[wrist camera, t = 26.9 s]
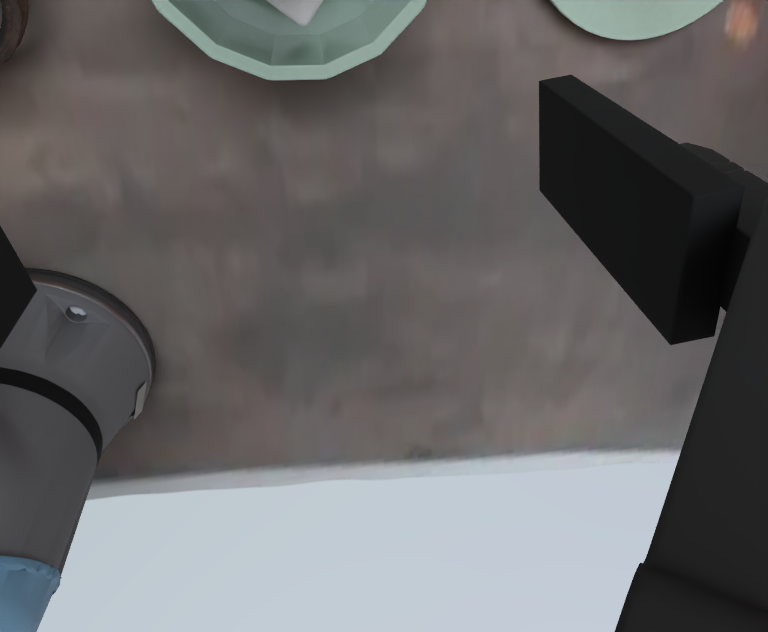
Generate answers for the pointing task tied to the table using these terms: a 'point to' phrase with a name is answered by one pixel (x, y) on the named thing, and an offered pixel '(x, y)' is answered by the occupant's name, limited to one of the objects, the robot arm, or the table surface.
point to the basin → (291, 34)
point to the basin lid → (633, 16)
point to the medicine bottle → (297, 9)
